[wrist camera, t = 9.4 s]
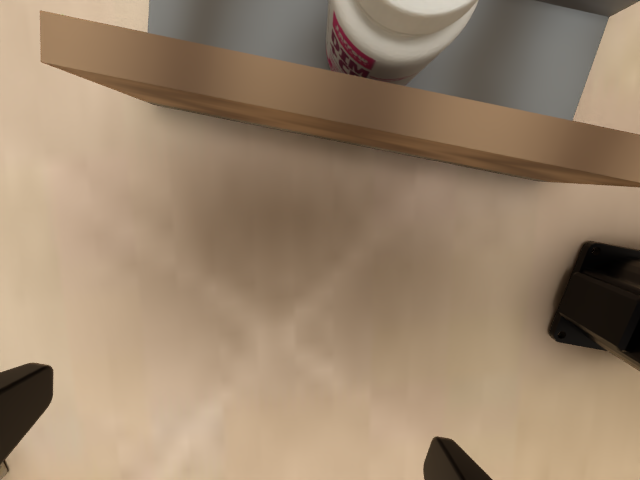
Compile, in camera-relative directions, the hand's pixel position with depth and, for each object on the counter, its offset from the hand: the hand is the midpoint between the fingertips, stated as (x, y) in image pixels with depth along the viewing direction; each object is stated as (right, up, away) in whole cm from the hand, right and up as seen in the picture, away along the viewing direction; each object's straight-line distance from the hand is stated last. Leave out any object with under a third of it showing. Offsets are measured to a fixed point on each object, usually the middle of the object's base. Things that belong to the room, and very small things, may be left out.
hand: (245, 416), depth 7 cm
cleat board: (+5, +15, +9) cm, 18 cm away
